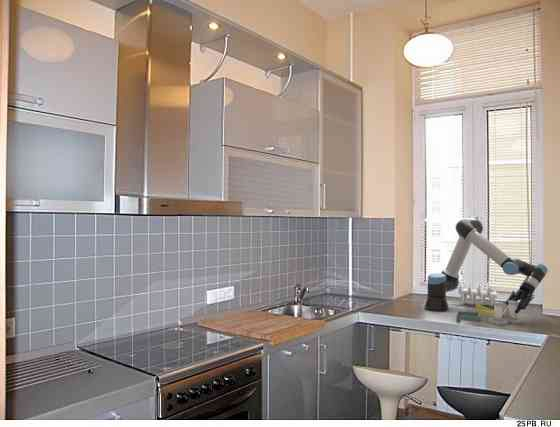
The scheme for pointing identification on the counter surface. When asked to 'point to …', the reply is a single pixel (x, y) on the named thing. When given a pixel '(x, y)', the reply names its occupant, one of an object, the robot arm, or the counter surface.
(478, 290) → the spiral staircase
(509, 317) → the marked fuse
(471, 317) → the tray
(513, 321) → the fuse block
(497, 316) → the plain fuse
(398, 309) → the counter surface
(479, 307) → the plastic component
